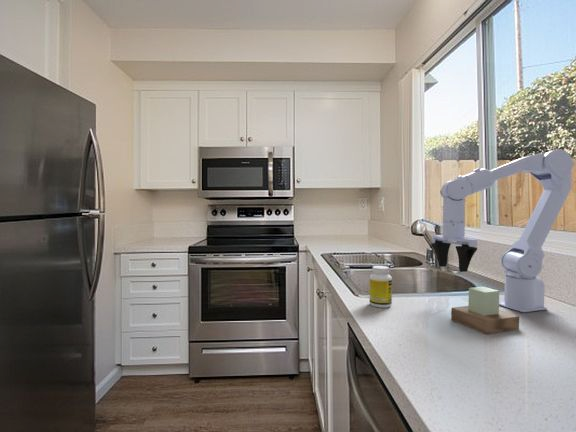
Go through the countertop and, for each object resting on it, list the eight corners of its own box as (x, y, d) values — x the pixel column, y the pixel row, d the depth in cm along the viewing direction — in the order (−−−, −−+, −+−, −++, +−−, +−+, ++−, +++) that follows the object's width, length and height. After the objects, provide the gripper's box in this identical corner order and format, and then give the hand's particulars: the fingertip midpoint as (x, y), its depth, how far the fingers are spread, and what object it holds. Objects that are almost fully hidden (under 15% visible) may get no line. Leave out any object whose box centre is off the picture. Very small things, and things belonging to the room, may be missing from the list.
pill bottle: (392, 309, 92) (393, 269, 92) (369, 307, 94) (370, 268, 93) (390, 302, 98) (391, 265, 98) (369, 301, 100) (369, 264, 99)
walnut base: (481, 315, 87) (482, 304, 87) (518, 329, 78) (519, 316, 77) (451, 319, 84) (451, 307, 84) (486, 334, 74) (486, 320, 74)
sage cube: (482, 308, 83) (482, 286, 83) (498, 313, 79) (499, 290, 79) (468, 309, 82) (468, 287, 82) (484, 315, 78) (484, 292, 78)
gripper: (424, 220, 101) (423, 265, 102) (463, 223, 88) (462, 274, 88) (443, 220, 104) (442, 264, 104) (483, 223, 90) (482, 273, 90)
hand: (452, 268), depth 96 cm, fingers open, 7 cm apart
